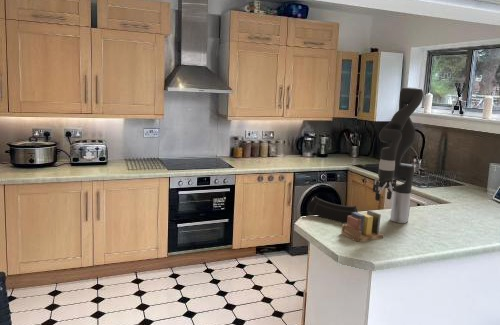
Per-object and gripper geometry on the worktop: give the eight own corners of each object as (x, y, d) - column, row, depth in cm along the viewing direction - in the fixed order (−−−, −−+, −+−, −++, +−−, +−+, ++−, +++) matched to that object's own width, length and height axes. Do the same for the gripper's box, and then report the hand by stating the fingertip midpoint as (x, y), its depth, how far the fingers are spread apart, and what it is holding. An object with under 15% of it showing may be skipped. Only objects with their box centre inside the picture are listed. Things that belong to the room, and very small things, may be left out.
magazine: (365, 210, 224) (318, 184, 238) (363, 211, 221) (315, 185, 235) (353, 236, 230) (307, 210, 244) (351, 238, 227) (305, 211, 241)
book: (363, 230, 213) (365, 213, 212) (371, 233, 209) (373, 216, 207) (358, 231, 212) (360, 214, 210) (366, 234, 207) (368, 217, 205)
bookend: (366, 228, 216) (369, 210, 214) (378, 233, 209) (380, 214, 208) (365, 228, 216) (367, 210, 214) (376, 234, 209) (379, 214, 207)
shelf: (365, 229, 219) (368, 208, 217) (383, 237, 209) (385, 215, 207) (341, 233, 210) (343, 212, 208) (358, 242, 200) (360, 219, 198)
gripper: (382, 170, 203) (378, 203, 206) (402, 169, 210) (398, 200, 213) (370, 167, 210) (367, 199, 213) (391, 166, 216) (387, 196, 220)
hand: (383, 199), depth 213 cm, fingers open, 7 cm apart
